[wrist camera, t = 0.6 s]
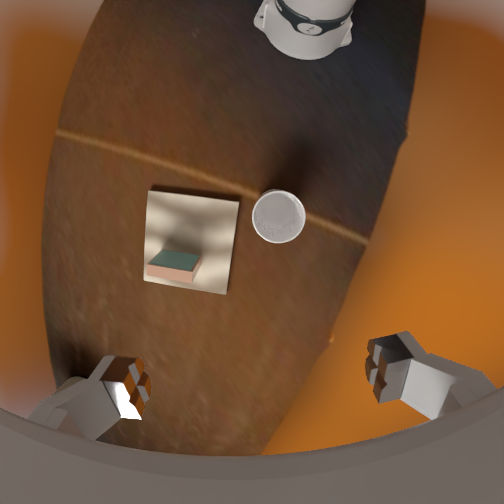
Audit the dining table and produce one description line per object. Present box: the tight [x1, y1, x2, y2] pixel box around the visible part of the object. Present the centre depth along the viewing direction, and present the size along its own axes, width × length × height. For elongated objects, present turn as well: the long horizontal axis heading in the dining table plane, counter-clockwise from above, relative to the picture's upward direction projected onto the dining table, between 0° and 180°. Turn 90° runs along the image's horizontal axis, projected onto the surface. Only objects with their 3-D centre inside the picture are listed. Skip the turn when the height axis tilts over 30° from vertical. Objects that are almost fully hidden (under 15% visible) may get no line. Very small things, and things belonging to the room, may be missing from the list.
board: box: [144, 190, 239, 295], centre depth 53 cm, size 18×17×1 cm
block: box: [146, 250, 201, 283], centre depth 50 cm, size 2×8×8 cm, turn 81°
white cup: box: [252, 189, 305, 243], centre depth 47 cm, size 8×8×10 cm
